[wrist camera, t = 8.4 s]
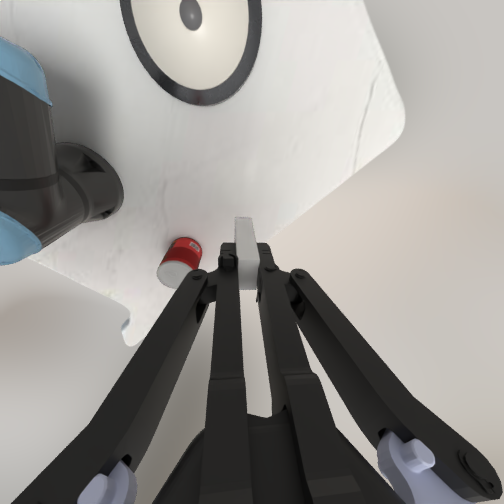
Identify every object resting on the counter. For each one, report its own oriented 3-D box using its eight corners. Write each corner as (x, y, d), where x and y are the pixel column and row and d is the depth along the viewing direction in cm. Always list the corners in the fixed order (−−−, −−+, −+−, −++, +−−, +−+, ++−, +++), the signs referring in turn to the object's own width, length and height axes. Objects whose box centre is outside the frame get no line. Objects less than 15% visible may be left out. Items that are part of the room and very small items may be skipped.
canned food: (170, 234, 49) (154, 260, 40) (203, 238, 50) (194, 264, 41) (172, 259, 53) (158, 288, 44) (202, 262, 54) (194, 291, 45)
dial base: (139, 97, 34) (134, 96, 33) (105, -115, 23) (96, -130, 22) (253, 113, 36) (253, 112, 35) (270, -76, 25) (272, -87, 24)
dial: (209, 114, 34) (199, 111, 26) (115, 27, 28) (62, -14, 20) (271, 10, 28) (284, -38, 20) (167, -131, 22) (122, -287, 14)
